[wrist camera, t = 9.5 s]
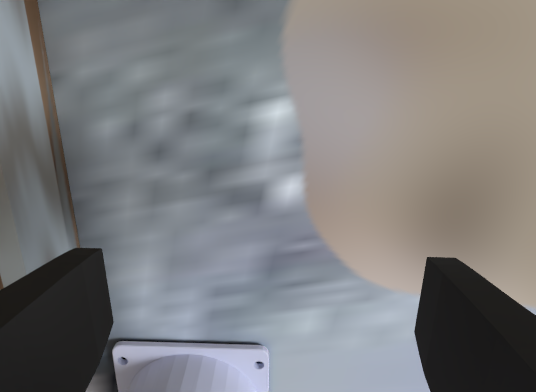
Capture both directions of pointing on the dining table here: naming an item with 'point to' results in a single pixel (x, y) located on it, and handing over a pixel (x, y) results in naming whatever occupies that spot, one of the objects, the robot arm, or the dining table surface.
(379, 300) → the dining table surface
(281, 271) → the dining table surface
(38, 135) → the grey brown open tray
